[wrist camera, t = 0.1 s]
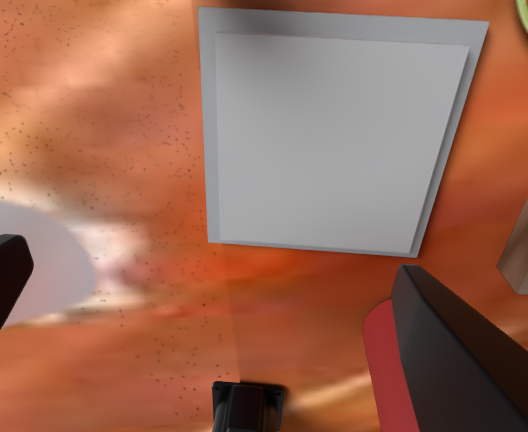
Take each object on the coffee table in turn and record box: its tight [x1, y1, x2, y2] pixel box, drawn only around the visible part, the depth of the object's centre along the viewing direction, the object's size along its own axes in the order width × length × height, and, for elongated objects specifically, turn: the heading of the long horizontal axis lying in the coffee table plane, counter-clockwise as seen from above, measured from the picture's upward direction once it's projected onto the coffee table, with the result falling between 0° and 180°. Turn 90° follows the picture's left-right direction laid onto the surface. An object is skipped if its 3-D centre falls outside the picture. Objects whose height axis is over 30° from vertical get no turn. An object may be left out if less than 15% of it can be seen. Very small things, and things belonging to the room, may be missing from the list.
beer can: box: [362, 299, 420, 432], centre depth 24 cm, size 7×7×12 cm
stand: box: [198, 7, 489, 258], centre depth 22 cm, size 14×14×2 cm
